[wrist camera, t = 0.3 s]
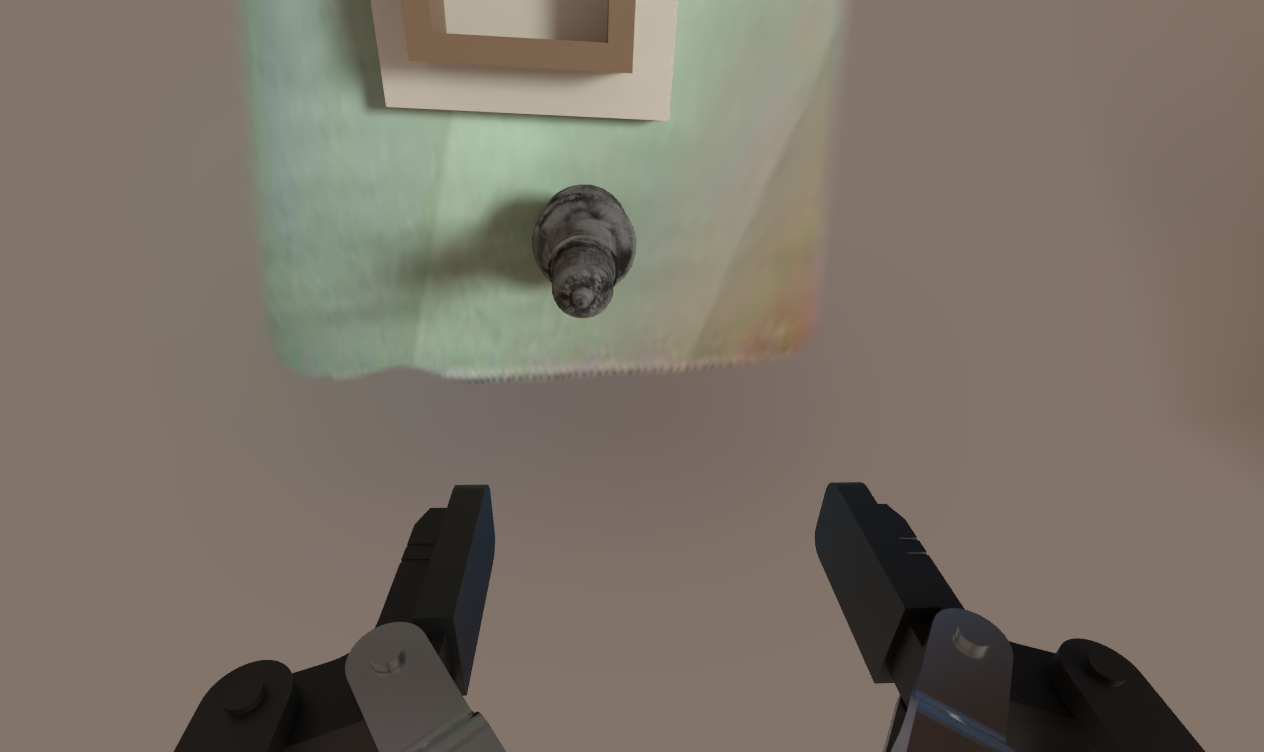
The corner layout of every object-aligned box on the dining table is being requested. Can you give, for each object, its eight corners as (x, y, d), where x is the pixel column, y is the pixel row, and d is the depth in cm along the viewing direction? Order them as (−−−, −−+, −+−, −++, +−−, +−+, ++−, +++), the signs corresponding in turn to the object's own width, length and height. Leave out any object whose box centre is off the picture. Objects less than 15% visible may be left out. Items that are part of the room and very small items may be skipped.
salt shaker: (530, 184, 34) (502, 246, 24) (628, 174, 34) (644, 233, 24) (545, 277, 37) (526, 369, 27) (636, 269, 37) (653, 357, 27)
